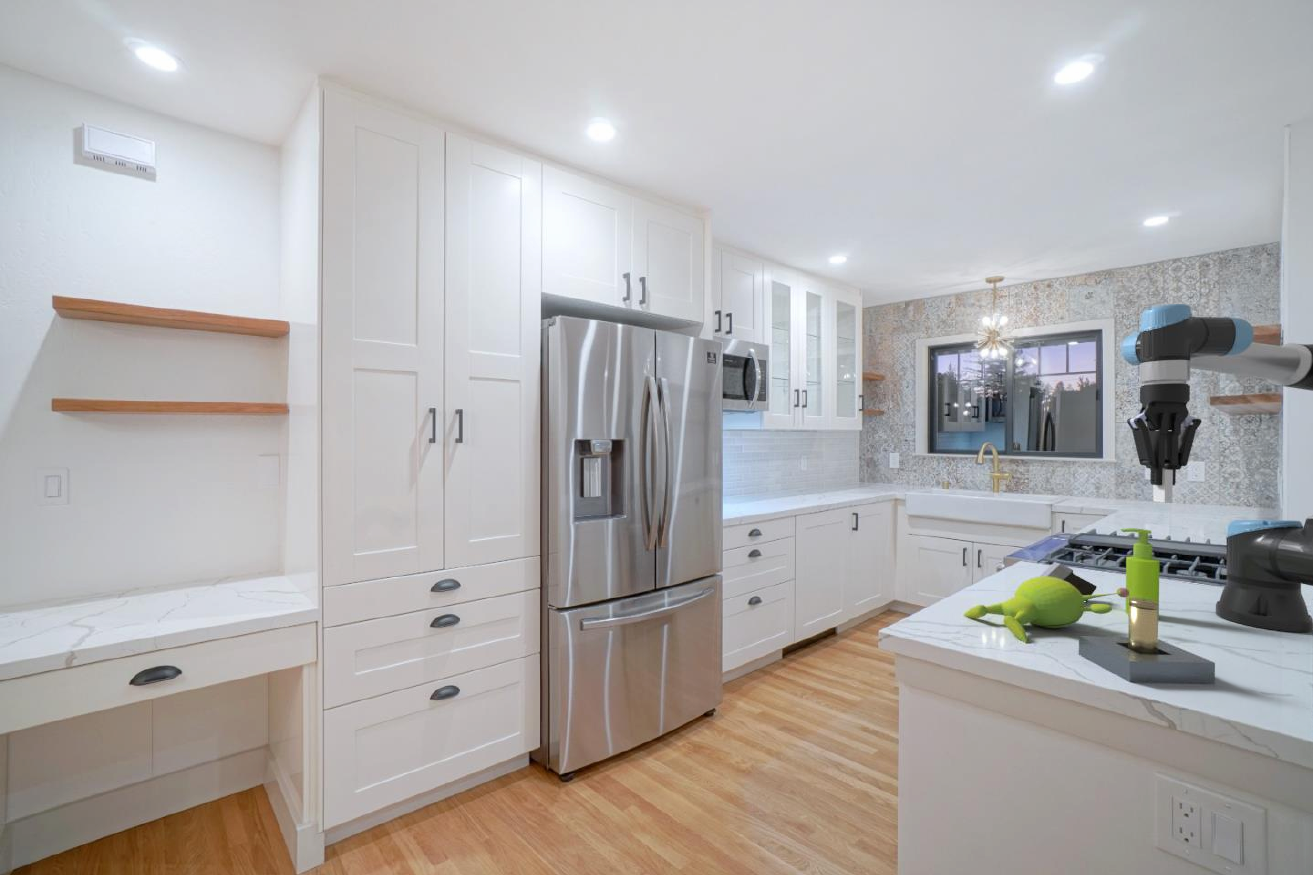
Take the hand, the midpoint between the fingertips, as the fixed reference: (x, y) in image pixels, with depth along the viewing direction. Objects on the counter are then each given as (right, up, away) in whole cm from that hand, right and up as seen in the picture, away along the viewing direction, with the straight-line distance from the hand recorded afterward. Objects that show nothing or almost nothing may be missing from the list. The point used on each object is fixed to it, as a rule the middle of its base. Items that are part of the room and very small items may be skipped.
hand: (1162, 501), depth 115 cm
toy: (-15, -29, +11) cm, 34 cm away
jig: (-15, -28, -13) cm, 34 cm away
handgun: (0, -29, +30) cm, 41 cm away
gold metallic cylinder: (-15, -28, -13) cm, 34 cm away
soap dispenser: (+11, -29, +19) cm, 36 cm away
